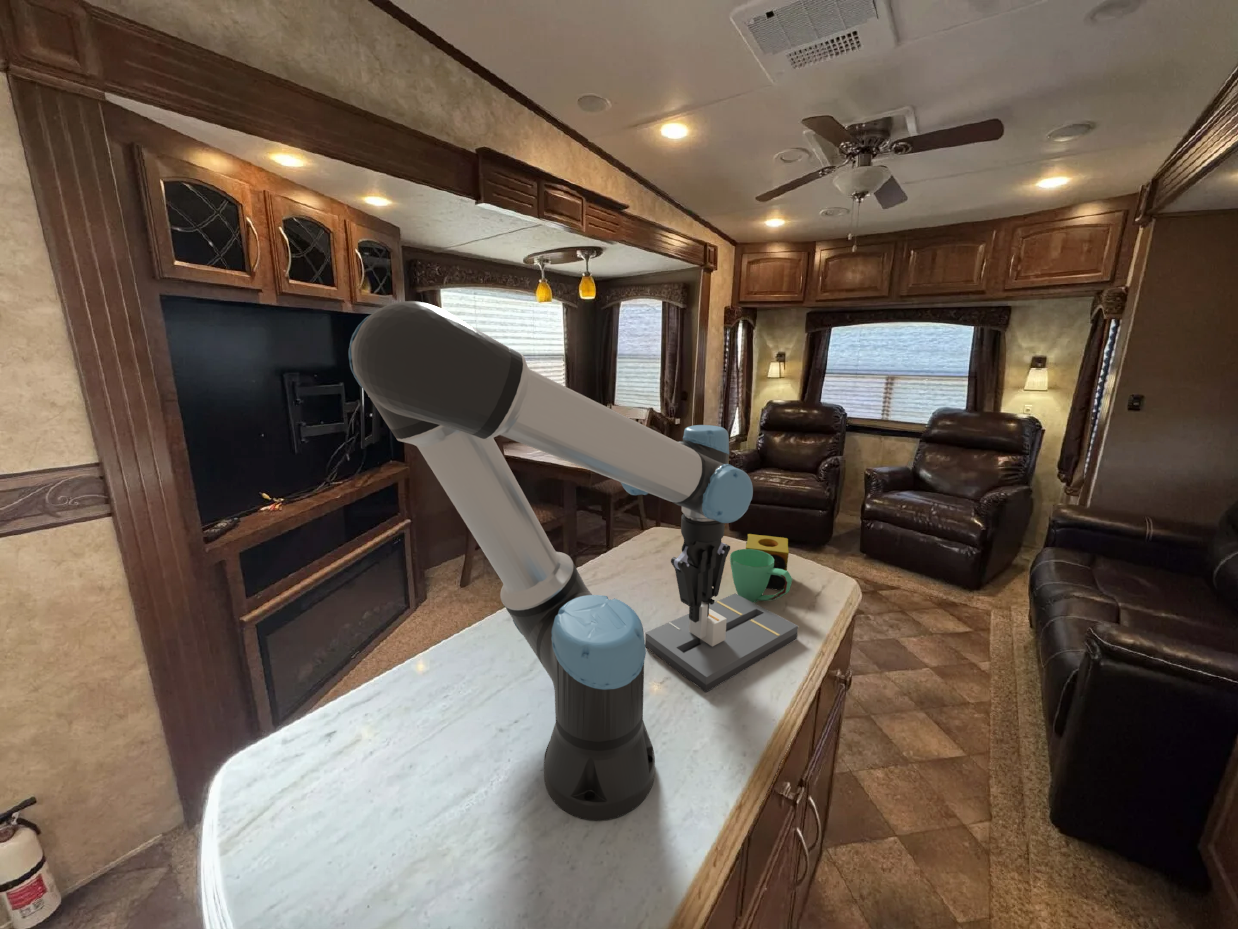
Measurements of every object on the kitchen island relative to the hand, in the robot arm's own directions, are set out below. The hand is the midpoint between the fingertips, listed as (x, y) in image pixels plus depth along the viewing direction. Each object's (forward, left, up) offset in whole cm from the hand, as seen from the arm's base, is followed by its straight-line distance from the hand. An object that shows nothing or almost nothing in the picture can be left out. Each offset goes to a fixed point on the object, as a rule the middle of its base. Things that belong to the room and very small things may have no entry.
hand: (698, 634), depth 90 cm
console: (+7, 0, -5) cm, 8 cm away
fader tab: (+2, 0, -3) cm, 4 cm away
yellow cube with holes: (+36, +12, -5) cm, 38 cm away
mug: (+26, +6, -5) cm, 27 cm away
